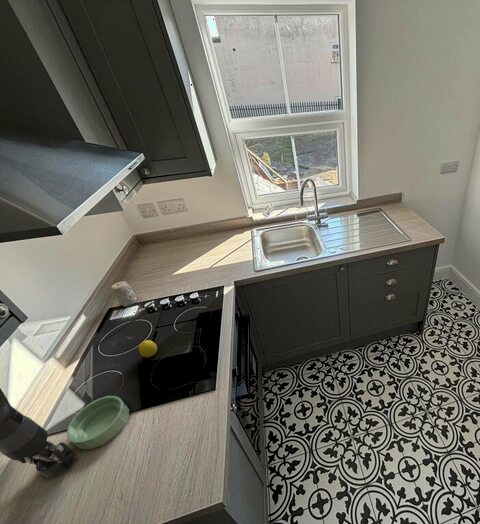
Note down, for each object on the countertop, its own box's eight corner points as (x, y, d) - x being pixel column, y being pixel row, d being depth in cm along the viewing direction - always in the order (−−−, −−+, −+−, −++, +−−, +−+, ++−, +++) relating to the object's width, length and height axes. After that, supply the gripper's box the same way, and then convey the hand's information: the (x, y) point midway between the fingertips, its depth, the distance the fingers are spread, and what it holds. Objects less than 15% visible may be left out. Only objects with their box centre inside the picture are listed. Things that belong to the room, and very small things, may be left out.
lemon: (161, 348, 118) (153, 334, 113) (158, 359, 113) (149, 345, 109) (146, 352, 116) (137, 338, 112) (143, 363, 112) (133, 349, 108)
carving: (120, 310, 138) (106, 290, 131) (126, 299, 144) (114, 280, 138) (134, 307, 139) (122, 288, 132) (140, 297, 145) (128, 278, 138)
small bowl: (44, 483, 80) (33, 476, 78) (49, 461, 85) (39, 454, 82) (71, 470, 83) (61, 463, 80) (75, 449, 87) (66, 442, 85)
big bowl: (72, 460, 85) (62, 452, 82) (80, 418, 95) (71, 410, 92) (129, 433, 90) (121, 425, 88) (130, 396, 101) (123, 388, 98)
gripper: (-26, 453, 71) (22, 480, 80) (32, 451, 71) (73, 479, 80) (4, 422, 77) (45, 451, 87) (57, 420, 77) (92, 449, 86)
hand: (58, 464), depth 83 cm, fingers closed on small bowl, 6 cm apart
